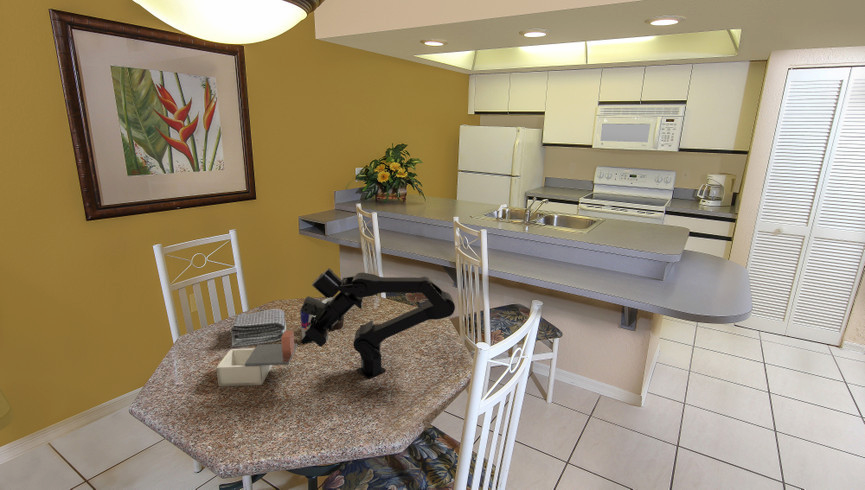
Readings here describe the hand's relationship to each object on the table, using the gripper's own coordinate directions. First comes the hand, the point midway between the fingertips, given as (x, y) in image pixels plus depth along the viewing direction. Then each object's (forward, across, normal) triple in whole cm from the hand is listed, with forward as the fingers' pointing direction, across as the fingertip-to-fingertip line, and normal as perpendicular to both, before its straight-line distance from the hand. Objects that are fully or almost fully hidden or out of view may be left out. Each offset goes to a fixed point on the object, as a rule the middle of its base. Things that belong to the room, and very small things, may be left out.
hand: (301, 342), depth 127 cm
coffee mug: (+5, -34, +10) cm, 35 cm away
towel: (+23, -28, -8) cm, 36 cm away
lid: (+9, 0, -3) cm, 10 cm away
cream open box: (+19, 0, -5) cm, 20 cm away
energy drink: (+9, -23, +6) cm, 25 cm away
